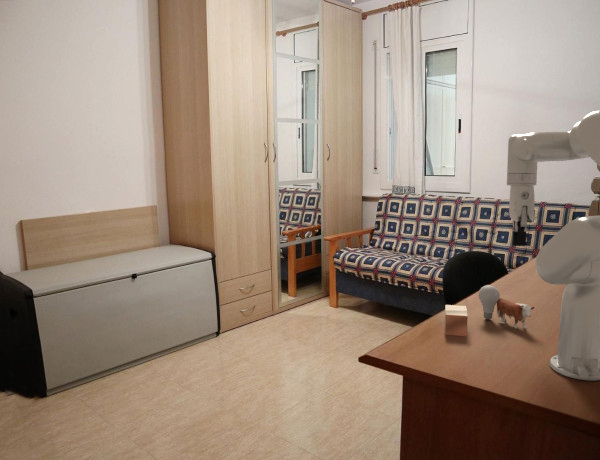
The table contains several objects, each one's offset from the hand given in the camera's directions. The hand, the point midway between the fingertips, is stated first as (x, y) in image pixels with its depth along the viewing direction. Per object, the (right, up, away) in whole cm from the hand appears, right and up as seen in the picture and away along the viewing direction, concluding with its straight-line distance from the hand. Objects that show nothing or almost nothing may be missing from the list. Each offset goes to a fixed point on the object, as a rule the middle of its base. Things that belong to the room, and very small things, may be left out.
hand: (518, 245), depth 142 cm
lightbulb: (-3, -24, +15) cm, 28 cm away
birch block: (-17, -23, +3) cm, 29 cm away
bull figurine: (+3, -25, +9) cm, 27 cm away
